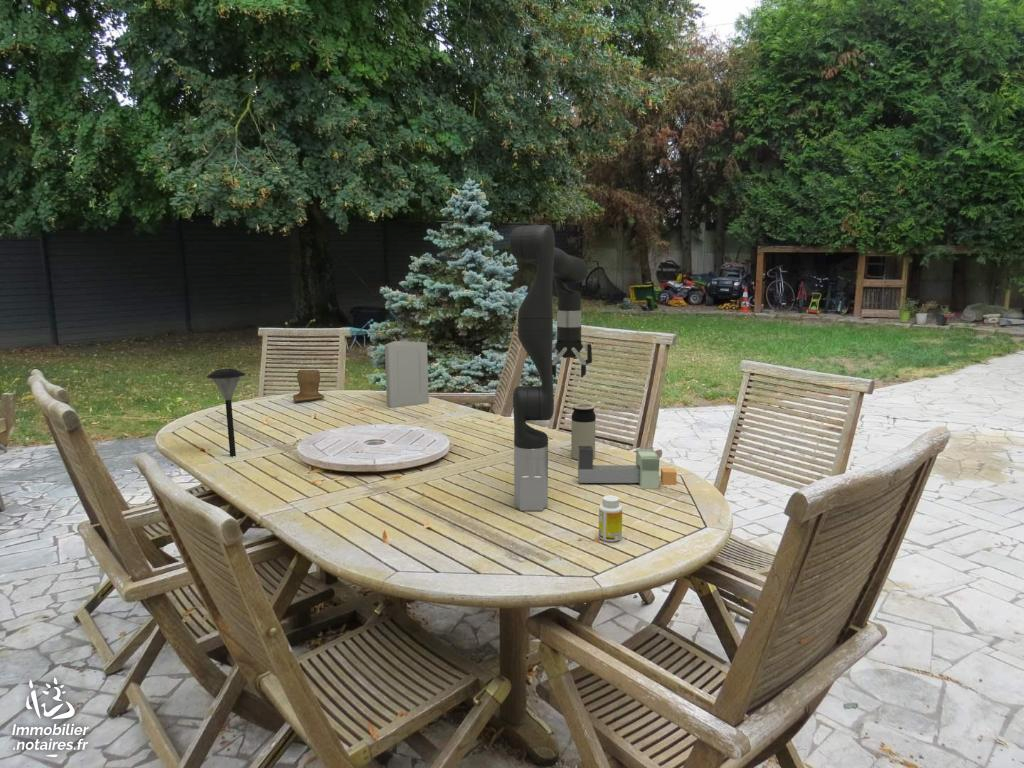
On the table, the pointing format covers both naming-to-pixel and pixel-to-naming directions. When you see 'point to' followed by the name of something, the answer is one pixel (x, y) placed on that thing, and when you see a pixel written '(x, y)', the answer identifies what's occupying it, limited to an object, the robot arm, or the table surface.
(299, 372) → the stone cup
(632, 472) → the grey l-shaped bracket
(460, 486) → the table surface
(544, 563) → the table surface
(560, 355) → the robot arm
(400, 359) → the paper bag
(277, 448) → the table surface
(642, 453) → the bearing bridge
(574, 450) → the travel mug
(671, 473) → the block
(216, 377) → the solar garden light
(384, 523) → the table surface
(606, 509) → the supplement bottle
